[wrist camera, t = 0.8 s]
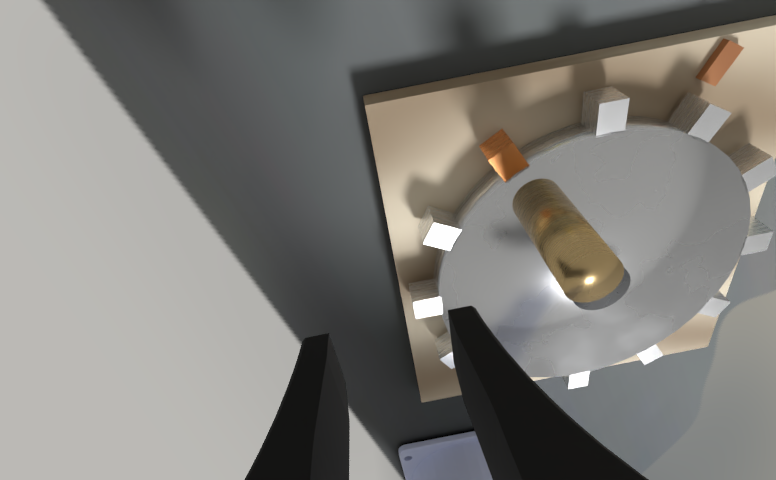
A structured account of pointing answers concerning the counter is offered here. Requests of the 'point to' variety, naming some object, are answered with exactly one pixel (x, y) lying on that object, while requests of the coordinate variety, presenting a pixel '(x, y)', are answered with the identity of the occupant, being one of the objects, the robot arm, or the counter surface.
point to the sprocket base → (545, 115)
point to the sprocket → (596, 236)
